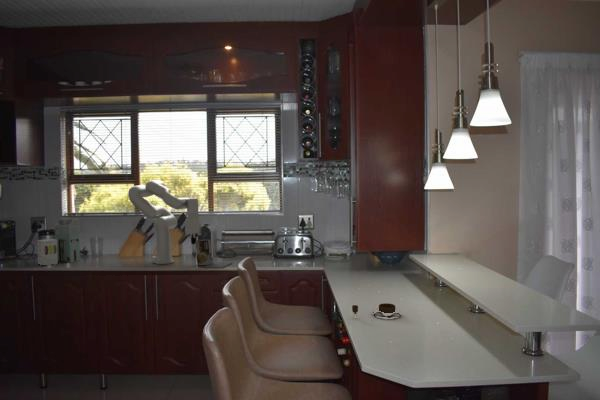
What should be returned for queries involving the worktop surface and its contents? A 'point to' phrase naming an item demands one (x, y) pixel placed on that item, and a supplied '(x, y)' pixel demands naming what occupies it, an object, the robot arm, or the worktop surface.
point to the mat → (218, 265)
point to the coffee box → (204, 252)
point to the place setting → (382, 307)
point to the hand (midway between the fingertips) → (193, 243)
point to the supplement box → (47, 251)
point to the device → (67, 239)
